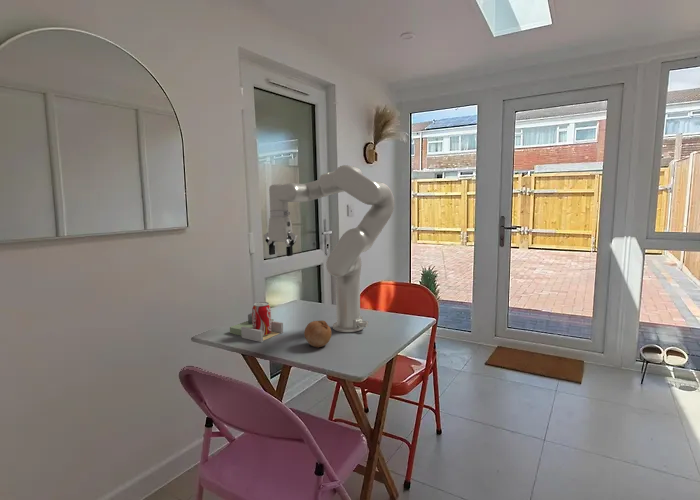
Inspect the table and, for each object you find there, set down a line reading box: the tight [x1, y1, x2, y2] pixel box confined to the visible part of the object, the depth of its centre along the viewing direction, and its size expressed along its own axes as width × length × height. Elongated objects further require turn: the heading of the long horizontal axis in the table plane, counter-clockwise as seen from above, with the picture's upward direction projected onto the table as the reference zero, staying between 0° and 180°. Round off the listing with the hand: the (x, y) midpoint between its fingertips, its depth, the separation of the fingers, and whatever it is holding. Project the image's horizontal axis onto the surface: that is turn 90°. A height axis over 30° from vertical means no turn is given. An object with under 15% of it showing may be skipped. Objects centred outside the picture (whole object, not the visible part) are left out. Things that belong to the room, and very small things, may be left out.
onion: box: [303, 320, 332, 348], centre depth 137 cm, size 10×9×10 cm
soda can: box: [251, 301, 272, 336], centre depth 149 cm, size 7×7×12 cm
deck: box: [229, 312, 284, 343], centre depth 153 cm, size 18×18×5 cm
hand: (280, 255), depth 165 cm, fingers open, 9 cm apart
